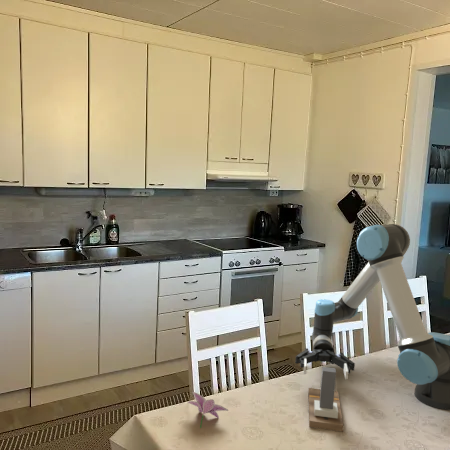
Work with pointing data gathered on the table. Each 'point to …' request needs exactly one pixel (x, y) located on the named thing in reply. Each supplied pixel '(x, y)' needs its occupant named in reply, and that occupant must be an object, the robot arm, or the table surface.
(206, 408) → the lily
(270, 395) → the table surface
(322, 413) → the slider
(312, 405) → the board
